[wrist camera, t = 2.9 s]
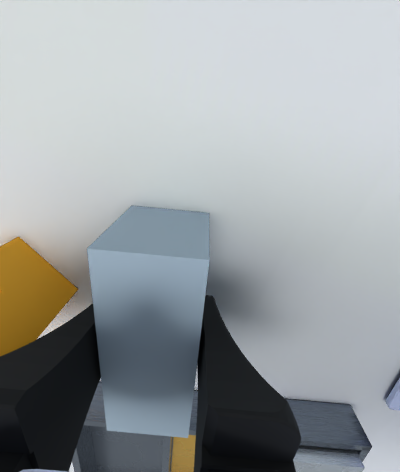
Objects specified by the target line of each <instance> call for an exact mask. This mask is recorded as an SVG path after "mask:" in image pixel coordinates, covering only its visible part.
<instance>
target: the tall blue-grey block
mask: <svg viewBox="0 0 400 472" xmlns="http://www.w3.org/2000/svg"><path fill="white" fill-rule="evenodd" d="M87 253H88V262H89V271H90V280H91V289H92V299H93V308H94V317H95V326H96V335H97V345H98V354H99V363H100V372H101V381H102V390H103V400H104V409H105V418H106V427H107V431H116V432H127V433H138V434H149V435H160V436H171V437H182V438H188V435H189V427H190V418H191V410H192V402H193V394H194V385H195V377H196V369H197V360H198V352H199V344H200V335H201V327H202V319H203V310H204V302H205V294H206V286H207V277H208V269H209V261H210V252H209V213H204V212H194V211H184V210H173V209H163V208H152V207H142V206H131V207H130V208H129V209H128V210H127V211H126V212H125V213H124V214H122V215H121V216H120V217H119V218H118V219H117V220H116V221H115V222H114V223H113V224H112V225H111V226H110V227H109V228H108V229H107V230H106V231H105V232H104V233H103V234H102V235H101V236H100V237H99V238H97V239H96V240H95V241H94V242H93V243H92V244H91V245H90V246H89V247H88V248H87Z"/></svg>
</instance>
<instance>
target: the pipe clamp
mask: <svg viewBox="0 0 400 472" xmlns="http://www.w3.org/2000/svg"><path fill="white" fill-rule="evenodd" d="M77 290H78V289H77V288H76V287H75V286H74V285H73V284H72V283H71V282H69V281H68V280H67V279H66V278H65V277H64V276H63V275H62V274H60V273H59V272H58V271H57V270H56V269H55V268H54V267H53V266H51V265H50V264H49V263H48V262H47V261H46V260H45V259H43V258H42V257H41V256H40V255H39V254H38V253H37V252H36V251H34V250H33V249H32V248H31V247H30V246H29V245H28V244H26V243H25V242H24V241H23V240H22V239H21V238H20V237H17V238H15V239H13V240H11V241H10V242H8V243H6V244H4V245H2V246H1V247H0V356H3V355H5V354H7V353H10V352H12V351H14V350H16V349H19V348H21V347H23V346H25V345H27V344H29V343H31V342H33V341H35V340H36V339H37V338H38V337H39V336H40V335H41V333H42V332H43V331H44V330H45V329H46V327H47V326H48V325H49V324H50V322H51V321H52V320H53V319H54V318H55V316H56V315H57V314H58V313H59V312H60V310H61V309H62V308H63V307H64V306H65V304H66V303H67V302H68V301H69V300H70V298H71V297H72V296H73V295H74V294H75V292H76V291H77Z"/></svg>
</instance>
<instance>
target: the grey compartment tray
mask: <svg viewBox="0 0 400 472" xmlns="http://www.w3.org/2000/svg"><path fill="white" fill-rule="evenodd" d="M286 400H287V401H288V403H289V405H290V408H291V410H292V412H293V414H294V417H295V419H296V422H297V424H298V427H299V431H300V435H301V443H300V446H299V448H298V450H297V453H296V455H295V457H294V459H293V462H294V466H295V469H296V472H362V471H363V470H364V465H363V463H362V462H363V460H364V459H365V457H366V456H367V454H368V453H369V451H370V449H371V448H372V445H371V443H370V442H369V440H368V438H367V436H366V434H365V432H364V430H363V428H362V426H361V424H360V422H359V420H358V418H357V416H356V415H355V413H354V411H353V409H352V407H351V405H346V404H335V403H324V402H313V401H302V400H291V399H286ZM197 403H198V391H194V394H193V402H192V410H191V418H190V427H189V435H188V438H182V437H171V436H160V435H149V434H138V433H127V432H116V431H107V427H106V418H105V409H104V400H103V390H102V382H99V383H98V386H97V388H96V391H95V394H94V397H93V399H92V402H91V405H90V408H89V411H88V413H87V416H86V419H85V422H84V425H83V428H82V431H81V434H80V437H79V440H78V443H77V446H76V449H75V452H74V455H73V459H72V463H73V467H74V471H75V472H194V458H195V440H196V422H197Z"/></svg>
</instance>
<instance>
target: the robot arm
mask: <svg viewBox="0 0 400 472" xmlns="http://www.w3.org/2000/svg"><path fill="white" fill-rule="evenodd" d="M197 366H198V403H197V422H196V440H195V458H194V472H296V469H295V466H294V462H293V459H294V457H295V455H296V453H297V450H298V448H299V446H300V443H301V435H300V431H299V427H298V424H297V422H296V419H295V417H294V414H293V412H292V410H291V408H290V405H289V403H288V401H287V400H286V399H284V398H283V397H282V396H281V395H280V394H279V393H278V392H277V391H276V390H275V389H273V388H272V387H271V386H270V385H269V384H268V383H267V382H266V381H265V380H264V379H263V378H262V376H261V375H260V374H259V373H258V372H257V371H256V369H255V368H254V367H253V366H252V365H251V364H250V362H249V361H248V360H247V359H246V357H245V356H244V355H243V353H242V352H241V350H240V349H239V348H238V346H237V345H236V343H235V341H234V340H233V338H232V337H231V335H230V333H229V331H228V330H227V328H226V326H225V324H224V322H223V320H222V318H221V315H220V313H219V311H218V308H217V306H216V303H215V299H214V297H213V296H209V295H205V302H204V310H203V319H202V327H201V335H200V344H199V352H198V360H197ZM100 378H101V372H100V363H99V354H98V345H97V335H96V326H95V317H94V308H93V304H92V305H90V306H89V307H88V308H86V309H85V310H84V311H82V312H81V313H80V314H78V315H77V316H75V317H74V318H72V319H71V320H70V321H68V322H66V323H65V324H63V325H62V326H60V327H58V328H57V329H55V330H53V331H52V332H50V333H48V334H46V335H45V336H43V337H41V338H39V339H37V340H35V341H33V342H31V343H29V344H27V345H25V346H23V347H21V348H19V349H16V350H14V351H12V352H10V353H7V354H5V355H3V356H0V472H69V468H70V465H71V462H72V459H73V455H74V452H75V449H76V446H77V443H78V440H79V437H80V434H81V431H82V428H83V425H84V422H85V419H86V416H87V413H88V411H89V408H90V405H91V402H92V399H93V397H94V394H95V391H96V388H97V386H98V383H99V381H100ZM386 404H387V405H388V407H389V408H390V409H393V410H400V378H399V380H398V381H397V383H396V384H395V386H394V388H393V389H392V391H391V393H390V394H389V396H388V397H387V399H386Z"/></svg>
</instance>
